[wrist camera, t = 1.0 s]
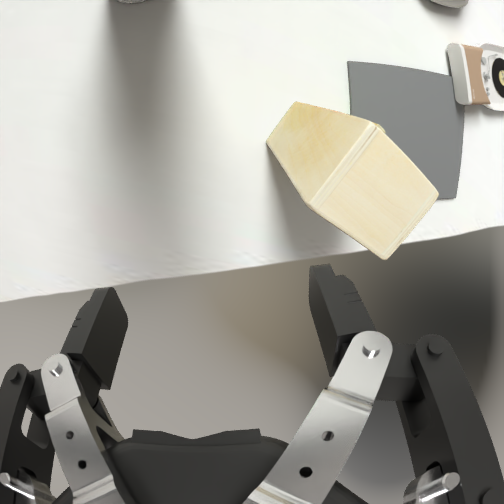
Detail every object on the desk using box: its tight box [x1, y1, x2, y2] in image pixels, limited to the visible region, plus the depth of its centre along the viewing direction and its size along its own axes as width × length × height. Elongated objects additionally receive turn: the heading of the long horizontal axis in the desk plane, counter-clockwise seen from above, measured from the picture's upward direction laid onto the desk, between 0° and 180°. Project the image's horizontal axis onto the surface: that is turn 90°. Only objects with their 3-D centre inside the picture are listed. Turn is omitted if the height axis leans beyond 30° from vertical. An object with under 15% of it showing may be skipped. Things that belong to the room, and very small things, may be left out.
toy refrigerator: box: [266, 102, 439, 260], centre depth 26 cm, size 8×7×21 cm
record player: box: [447, 43, 504, 111], centre depth 26 cm, size 12×3×20 cm
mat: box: [347, 61, 464, 199], centre depth 34 cm, size 20×20×1 cm
